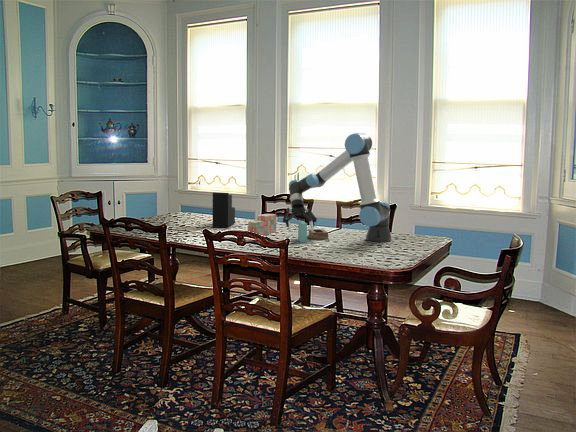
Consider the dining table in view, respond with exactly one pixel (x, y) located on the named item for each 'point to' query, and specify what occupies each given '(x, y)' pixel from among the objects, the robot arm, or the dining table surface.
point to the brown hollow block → (318, 234)
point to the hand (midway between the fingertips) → (301, 231)
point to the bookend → (223, 210)
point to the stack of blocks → (263, 224)
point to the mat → (302, 243)
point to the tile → (302, 232)
